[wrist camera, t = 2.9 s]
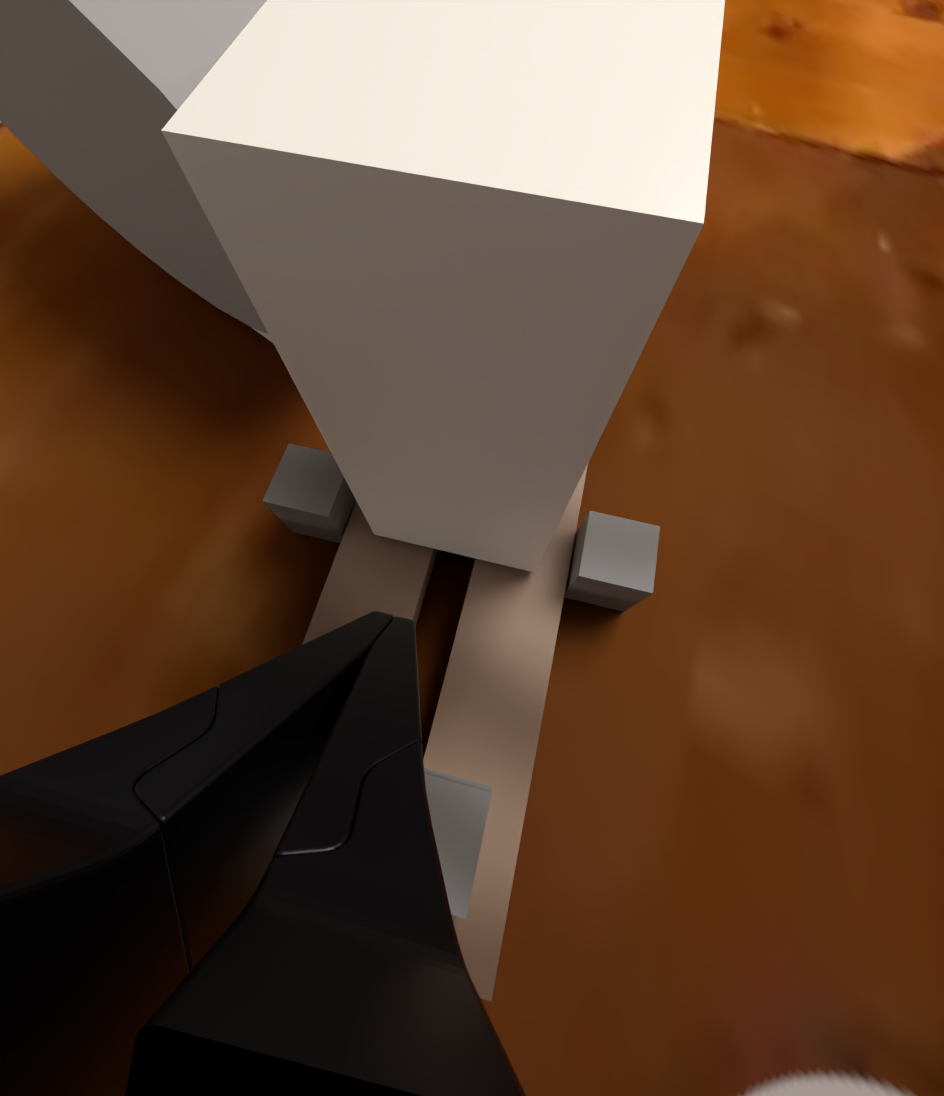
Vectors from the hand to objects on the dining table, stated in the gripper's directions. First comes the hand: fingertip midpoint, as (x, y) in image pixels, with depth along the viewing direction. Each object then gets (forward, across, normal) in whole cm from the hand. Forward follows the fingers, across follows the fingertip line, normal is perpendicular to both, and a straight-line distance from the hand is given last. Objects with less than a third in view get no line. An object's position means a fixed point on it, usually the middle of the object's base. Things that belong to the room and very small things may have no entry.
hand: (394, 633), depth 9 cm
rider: (+9, 0, -1) cm, 9 cm away
